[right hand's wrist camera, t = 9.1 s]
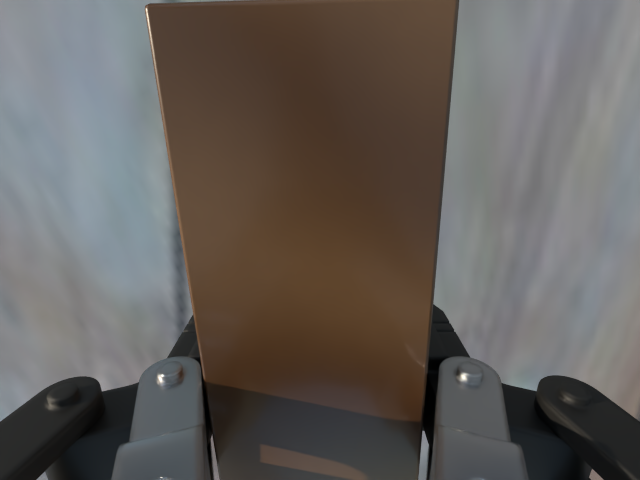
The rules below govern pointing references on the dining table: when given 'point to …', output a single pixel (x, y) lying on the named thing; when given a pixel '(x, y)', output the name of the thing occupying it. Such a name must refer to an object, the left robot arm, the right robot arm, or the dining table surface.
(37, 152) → the dining table surface
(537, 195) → the dining table surface
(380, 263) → the post
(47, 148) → the dining table surface
